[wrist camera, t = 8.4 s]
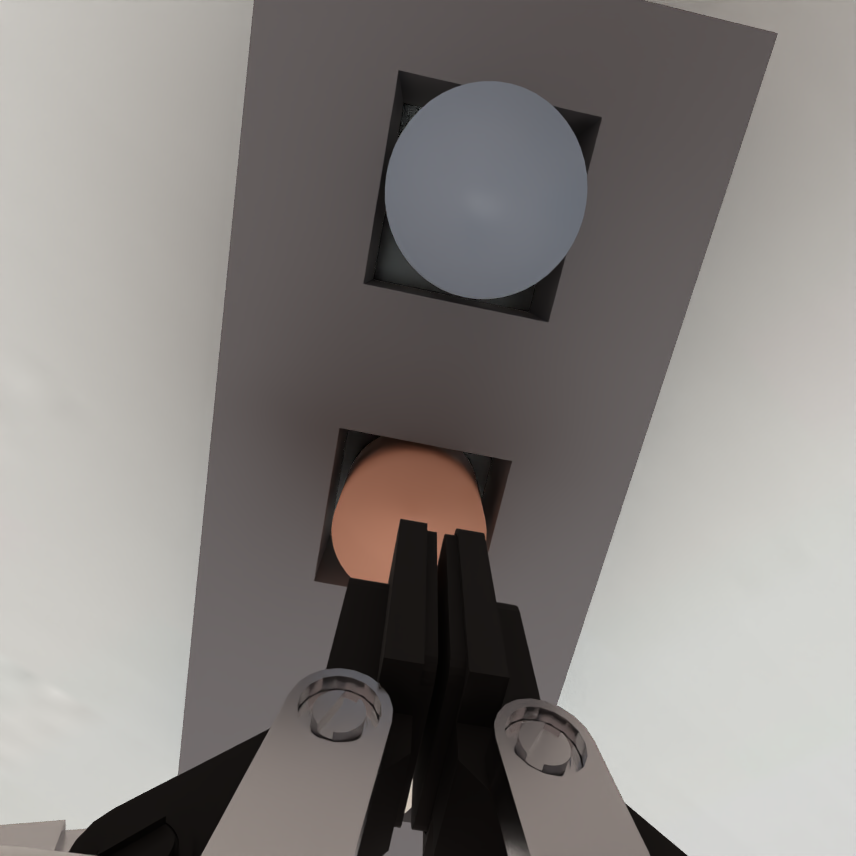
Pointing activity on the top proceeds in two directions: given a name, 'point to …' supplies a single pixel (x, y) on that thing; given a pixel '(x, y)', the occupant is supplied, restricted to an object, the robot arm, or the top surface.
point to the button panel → (444, 317)
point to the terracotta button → (401, 502)
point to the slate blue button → (486, 190)
